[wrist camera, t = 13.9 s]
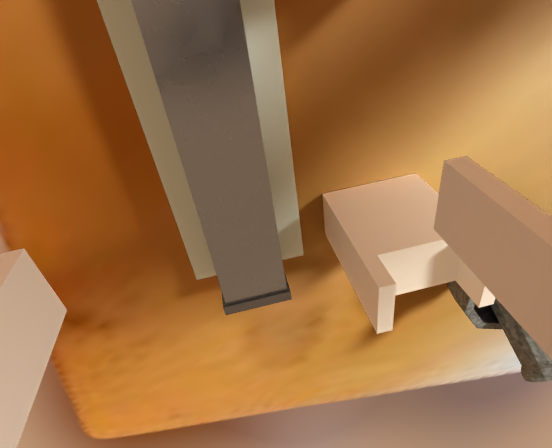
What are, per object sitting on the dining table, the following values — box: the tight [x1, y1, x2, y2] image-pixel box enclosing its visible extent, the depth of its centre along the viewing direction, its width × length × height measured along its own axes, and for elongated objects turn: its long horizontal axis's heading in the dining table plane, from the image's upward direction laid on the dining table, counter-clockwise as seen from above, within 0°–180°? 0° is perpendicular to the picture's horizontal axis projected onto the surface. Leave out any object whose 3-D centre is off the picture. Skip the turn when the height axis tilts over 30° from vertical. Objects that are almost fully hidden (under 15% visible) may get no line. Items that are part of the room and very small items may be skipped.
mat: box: [97, 0, 304, 280], centre depth 23 cm, size 26×9×1 cm, turn 8°
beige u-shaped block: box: [322, 173, 495, 334], centre depth 26 cm, size 4×8×10 cm, turn 98°
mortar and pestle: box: [447, 281, 552, 382], centre depth 30 cm, size 11×9×12 cm
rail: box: [131, 0, 292, 315], centre depth 21 cm, size 26×5×4 cm, turn 8°
